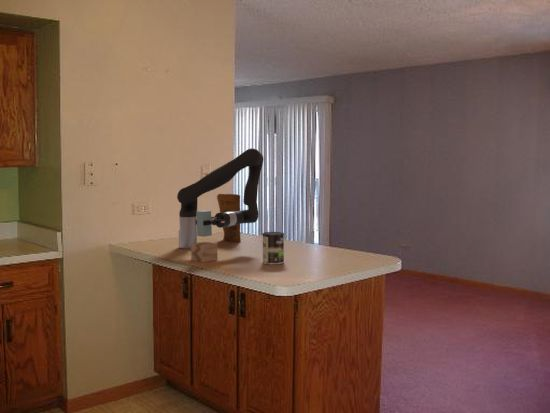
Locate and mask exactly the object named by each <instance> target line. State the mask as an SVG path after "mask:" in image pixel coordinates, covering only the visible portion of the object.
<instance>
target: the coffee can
mask: <svg viewBox="0 0 550 413" xmlns="http://www.w3.org/2000/svg"><path fill="white" fill-rule="evenodd" d="M261 235H262V263H263V264H264V265H282V264H284V263H285V232H282V231H281V232H280V231H266V232H262V233H261Z"/></svg>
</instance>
